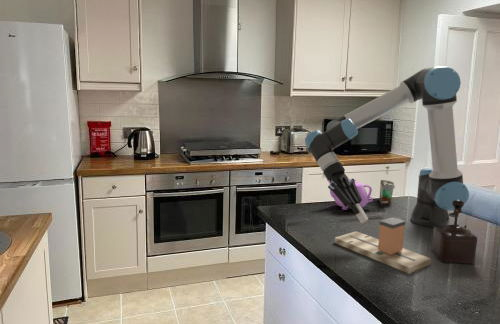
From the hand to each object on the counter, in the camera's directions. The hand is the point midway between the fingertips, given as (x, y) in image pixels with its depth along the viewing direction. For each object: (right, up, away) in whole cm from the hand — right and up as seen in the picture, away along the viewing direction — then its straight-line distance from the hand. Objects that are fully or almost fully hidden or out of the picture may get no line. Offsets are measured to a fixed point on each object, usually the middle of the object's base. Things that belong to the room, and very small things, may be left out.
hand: (364, 221), depth 142 cm
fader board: (+4, -10, -4) cm, 12 cm away
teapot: (+6, -1, +48) cm, 48 cm away
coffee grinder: (+28, -11, -4) cm, 31 cm away
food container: (+28, +1, +59) cm, 65 cm away
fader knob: (+6, -9, -7) cm, 13 cm away
